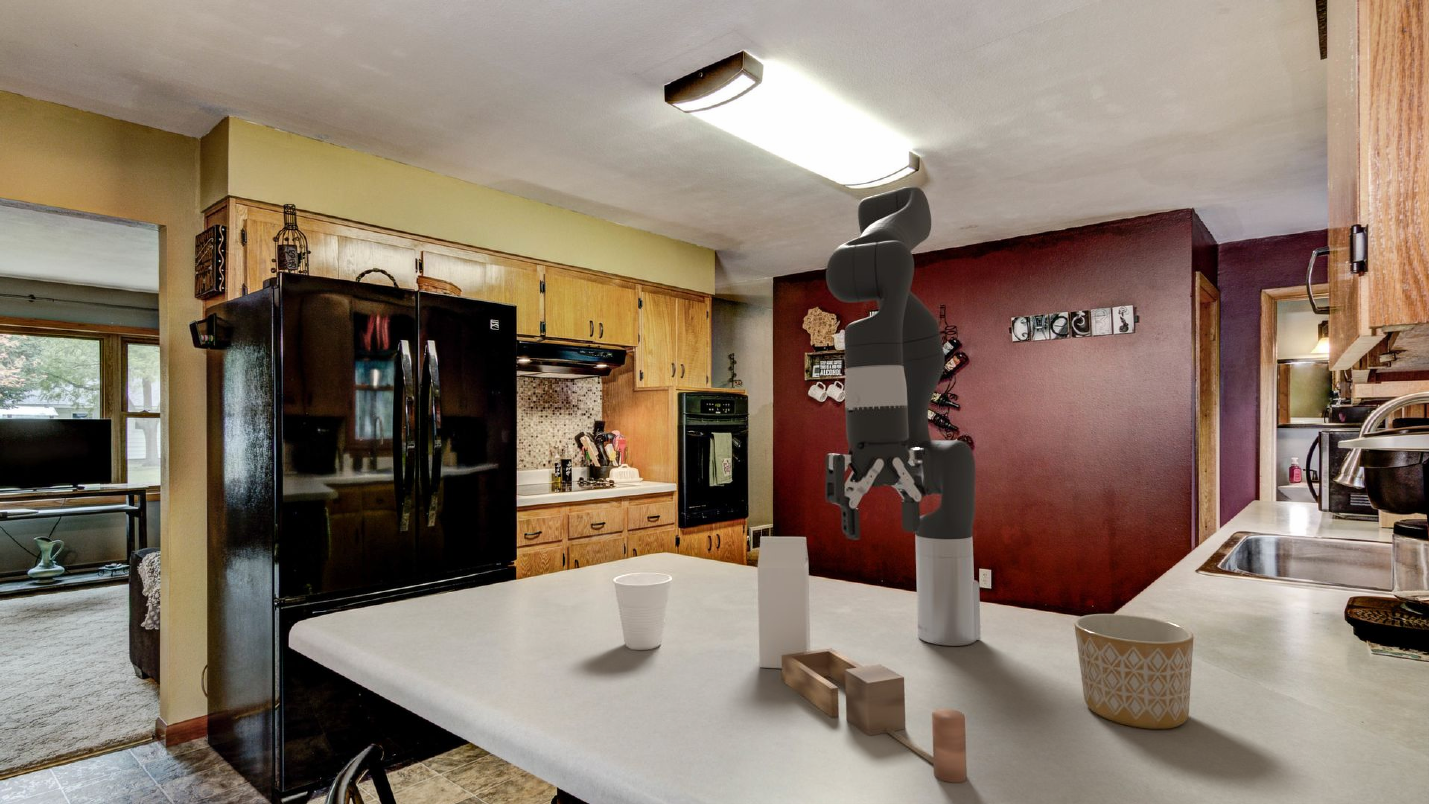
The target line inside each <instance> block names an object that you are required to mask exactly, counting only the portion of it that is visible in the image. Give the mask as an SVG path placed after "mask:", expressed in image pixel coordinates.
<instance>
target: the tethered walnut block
mask: <svg viewBox="0 0 1429 804" xmlns="http://www.w3.org/2000/svg"><path fill="white" fill-rule="evenodd" d="M845 683H846V686H845V711H846V712H845V714H846V715H845V716H846V717H845V718H846V720H847V722H849V723H851V724H852V725H854V726H855V727H856V728H858V729H859V730H860V731H862V732H863V733H865V734H866V735H867V736H869V737H870V736H876V735H880V734H885V733H887V734H888V735H890V736H892V738H895V739H896V740H897V741H898V742H900V743H902V744H903V745H905V746H906V747H908V748H909V749H910V750H912V751H914V752H915V753H917V754H918V755H919V756H921V757H922V758H924V760H927V761H928V762H930V764H932V765H933V775H934V777H935V778H936V779H938V780H940V781H943V782H945V783H953V784H959V783H962V782H964V781H966V780H967V778H968V777H967V776H968V774H967V773H968V772H967V770H968V769H967V741H966V738H967V737H966V735H967V734H966V716H965V714H964V713H962V712H960V711H958V710H955V709H950V708H940V709H935V710H933V711H932V712H931V722H932V723H931V724H932V726H931V728H932V755H930V753H928V752H927V751H924V749H922V748H920V747H919V746H917V745H916V744H914V743H913V742H911V741H910V740H909V739H908V738H906V737H904V736H903V735H901V734H899V733H898V732H897V731H901V730H905V729H907V728H906V703H905V702H906V698H905V677H904V676H903V675H901V674H899V673H897V672H895V671H894V670H891V669H890V668H888V667H886V666H884V665H882V664H880V663H879V664H873V665H868V666H867V665H866V666H863V667H859V668H852V669H846V670H845Z"/></svg>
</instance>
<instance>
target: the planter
mask: <svg viewBox="0 0 1429 804" xmlns="http://www.w3.org/2000/svg"><path fill="white" fill-rule="evenodd" d="M1073 624H1074V630H1075V631H1074V632H1075V638H1076V647H1077V654H1078V661H1079V669H1080V676H1081V677H1080V678H1081V683H1082V692H1083V698H1084V702H1085V704H1086V706H1087V707H1088V708H1089V709H1090V710H1091V711H1092V712H1094V713H1095V714H1096V715H1098V716H1100V717H1102V718H1104V719H1107V720H1108V721H1111V722H1114V723H1117V724H1121V725H1123V726H1129V727H1133V728H1138V729H1139V728H1140V729H1147V730H1148V729H1150V730H1166V729H1172V728H1177V727H1179V726H1181V725H1183V724H1184V723H1185V722H1186V721H1187V720H1188V718H1189V715H1190V699H1191V697H1190V696H1191V685H1192V667H1193V652H1194V639H1195V637H1194V633H1193V632H1192V631H1191V630H1189V629H1188V628H1186V627H1184V626H1182V625H1179V624H1176V623H1174V622H1170V621H1167V620H1163V619H1162V620H1161V619H1159V618H1158V619H1157V618H1153V617H1146V616H1140V615H1131V614H1121V613H1120V614H1117V613H1097V614H1096V613H1095V614H1086V615H1083V616H1080V617H1077V618H1076V619H1075V620H1074V621H1073Z"/></svg>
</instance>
